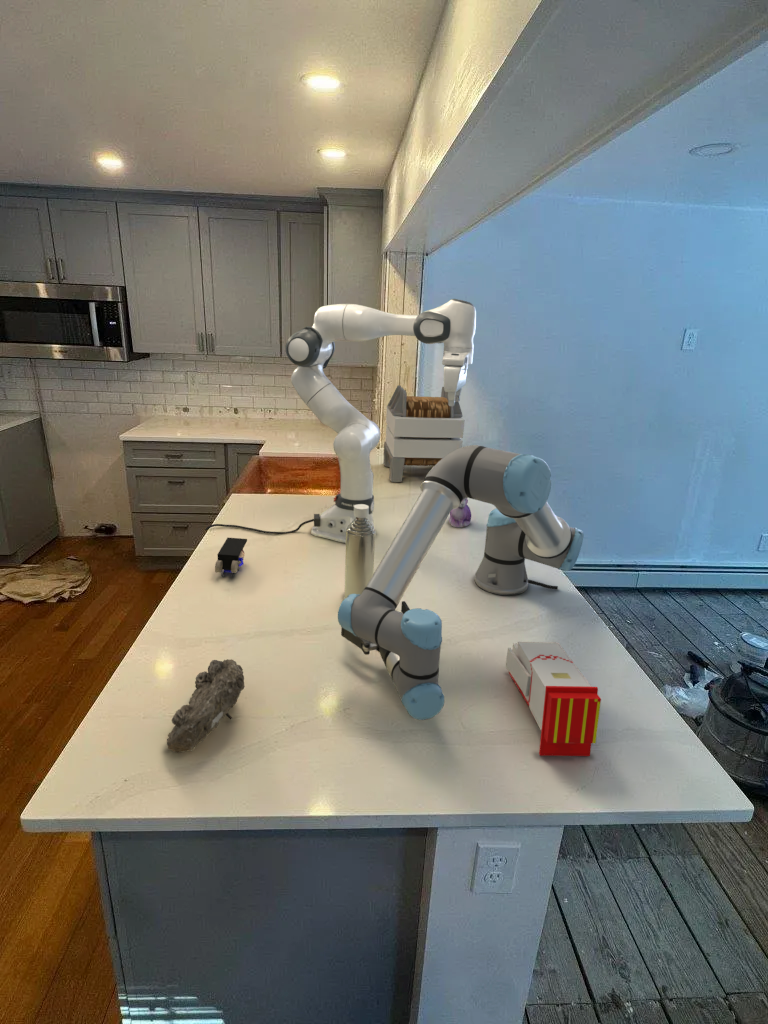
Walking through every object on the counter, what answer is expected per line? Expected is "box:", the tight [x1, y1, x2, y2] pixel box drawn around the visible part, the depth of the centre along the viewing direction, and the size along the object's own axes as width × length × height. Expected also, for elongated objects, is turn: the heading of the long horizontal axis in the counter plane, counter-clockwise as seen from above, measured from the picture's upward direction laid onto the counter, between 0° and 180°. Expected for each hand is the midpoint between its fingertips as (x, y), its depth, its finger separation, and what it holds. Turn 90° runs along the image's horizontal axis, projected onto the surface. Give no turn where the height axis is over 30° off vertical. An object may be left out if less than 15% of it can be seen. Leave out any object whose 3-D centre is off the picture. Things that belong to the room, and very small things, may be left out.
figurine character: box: [214, 537, 248, 578], centre depth 166 cm, size 7×8×15 cm
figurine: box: [448, 498, 472, 528], centre depth 209 cm, size 9×10×15 cm
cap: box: [354, 504, 369, 518], centre depth 147 cm, size 4×4×2 cm
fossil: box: [166, 658, 245, 754], centre depth 106 cm, size 22×10×15 cm
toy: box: [505, 641, 602, 757], centre depth 113 cm, size 12×13×30 cm
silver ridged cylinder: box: [344, 517, 376, 599], centre depth 151 cm, size 8×8×26 cm
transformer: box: [383, 384, 465, 483], centre depth 268 cm, size 34×33×41 cm
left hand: (453, 403), depth 174 cm, fingers open, 8 cm apart
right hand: (376, 608), depth 137 cm, fingers open, 13 cm apart
